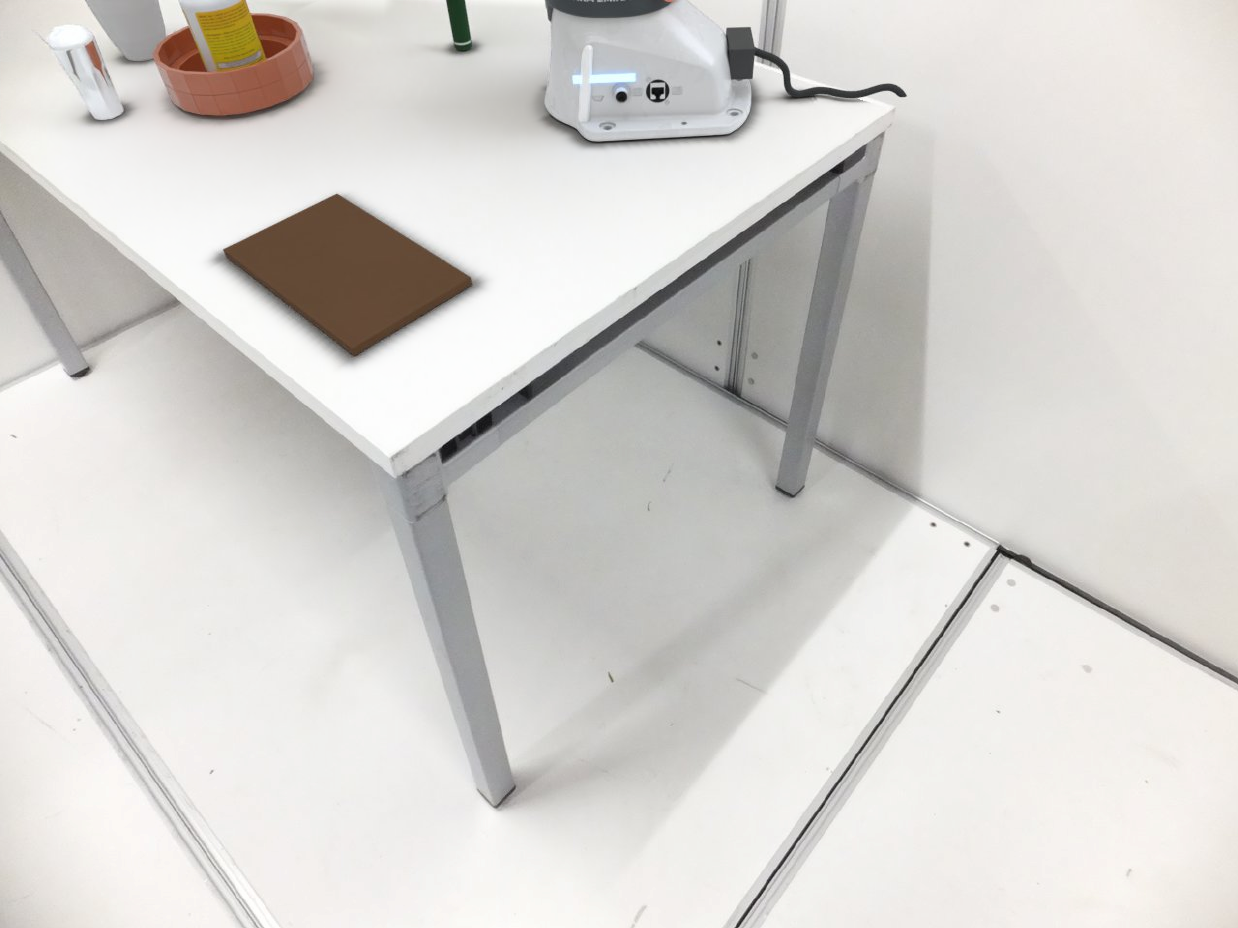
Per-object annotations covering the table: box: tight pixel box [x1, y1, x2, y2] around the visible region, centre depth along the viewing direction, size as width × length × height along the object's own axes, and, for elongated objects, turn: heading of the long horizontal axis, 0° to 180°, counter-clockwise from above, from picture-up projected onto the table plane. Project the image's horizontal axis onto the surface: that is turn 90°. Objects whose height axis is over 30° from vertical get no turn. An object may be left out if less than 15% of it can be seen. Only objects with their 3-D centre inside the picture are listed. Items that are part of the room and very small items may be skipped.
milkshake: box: [31, 23, 125, 121], centre depth 89 cm, size 4×5×10 cm
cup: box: [84, 0, 167, 62], centre depth 99 cm, size 8×8×10 cm
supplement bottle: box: [178, 0, 266, 72], centre depth 91 cm, size 7×7×13 cm
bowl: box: [153, 12, 315, 116], centre depth 94 cm, size 16×16×5 cm
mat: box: [222, 193, 473, 357], centre depth 71 cm, size 20×12×1 cm, turn 46°
